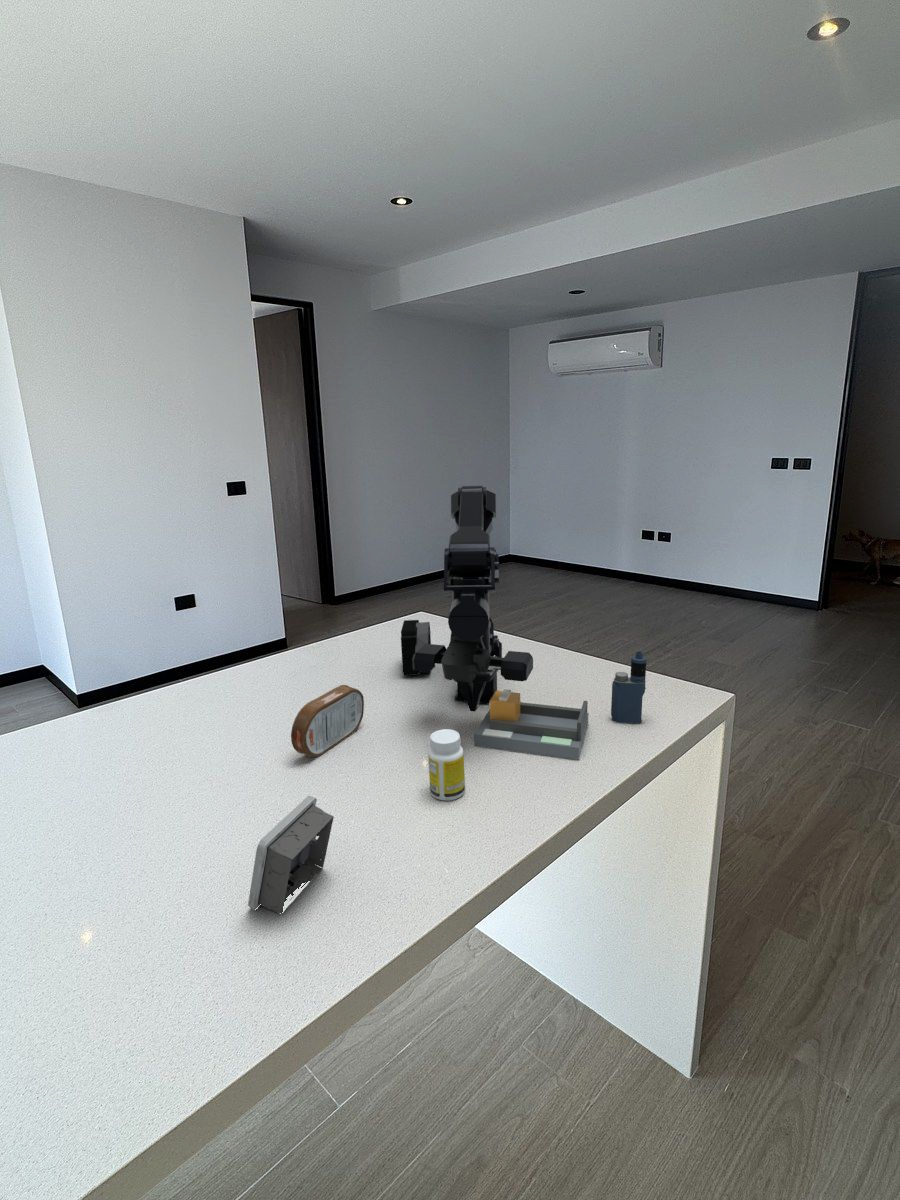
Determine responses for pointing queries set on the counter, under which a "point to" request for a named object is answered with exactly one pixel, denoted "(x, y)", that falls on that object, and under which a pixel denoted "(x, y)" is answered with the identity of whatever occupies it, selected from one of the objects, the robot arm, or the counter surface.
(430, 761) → the supplement bottle
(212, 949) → the counter surface
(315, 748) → the tin
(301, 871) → the electrical switch
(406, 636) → the cpu cooler
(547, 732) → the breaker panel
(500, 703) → the block
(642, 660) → the vaping device
